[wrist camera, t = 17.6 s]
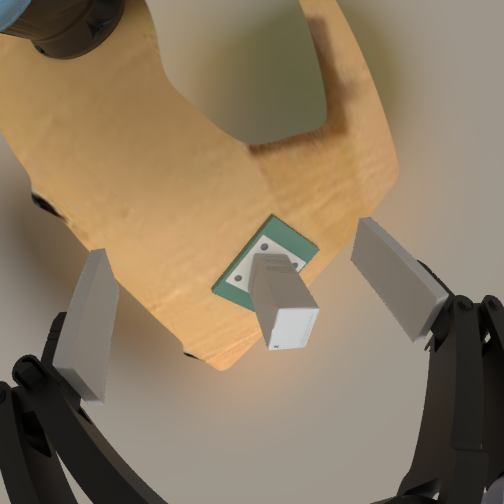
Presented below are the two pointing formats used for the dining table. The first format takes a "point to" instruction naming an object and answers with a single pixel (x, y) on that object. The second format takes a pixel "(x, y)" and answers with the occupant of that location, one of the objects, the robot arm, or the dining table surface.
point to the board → (263, 242)
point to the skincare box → (281, 302)
